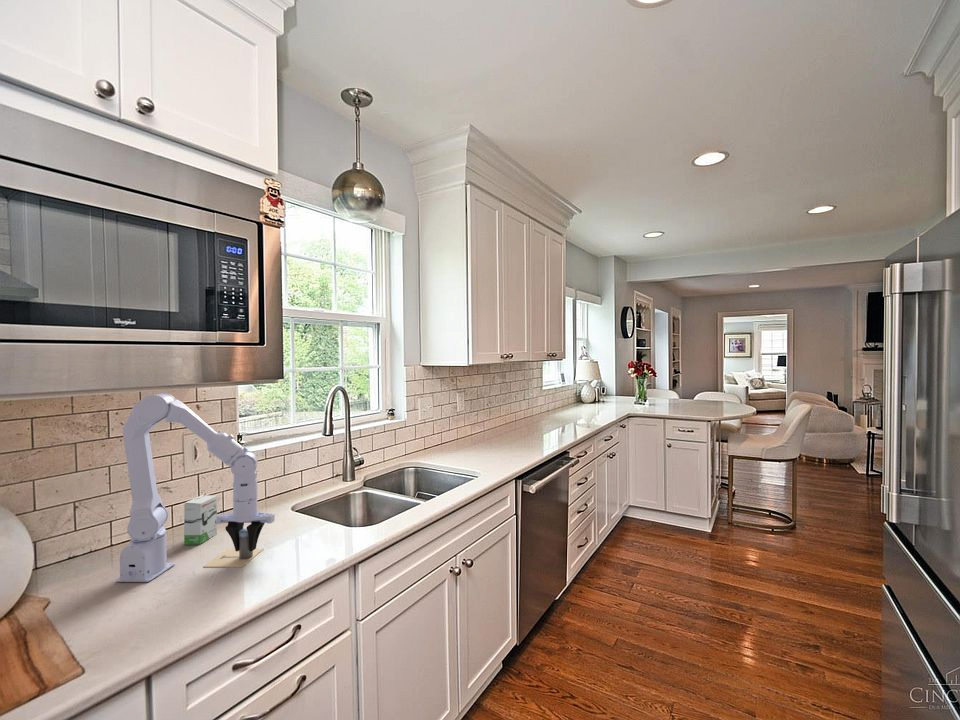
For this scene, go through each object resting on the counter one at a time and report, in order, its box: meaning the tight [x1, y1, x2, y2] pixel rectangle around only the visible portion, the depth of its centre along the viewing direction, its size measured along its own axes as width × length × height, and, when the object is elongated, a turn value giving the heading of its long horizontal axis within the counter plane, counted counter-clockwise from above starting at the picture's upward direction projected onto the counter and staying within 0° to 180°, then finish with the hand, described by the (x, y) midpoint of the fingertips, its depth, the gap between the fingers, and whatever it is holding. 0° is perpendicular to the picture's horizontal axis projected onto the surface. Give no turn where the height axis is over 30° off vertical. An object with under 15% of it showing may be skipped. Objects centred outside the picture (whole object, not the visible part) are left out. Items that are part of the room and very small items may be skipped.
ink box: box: [183, 494, 218, 546], centre depth 136 cm, size 9×5×12 cm, turn 179°
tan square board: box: [202, 548, 264, 568], centre depth 123 cm, size 11×10×1 cm
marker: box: [239, 527, 253, 559], centre depth 123 cm, size 3×3×7 cm
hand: (245, 549), depth 122 cm, fingers closed on marker, 3 cm apart
